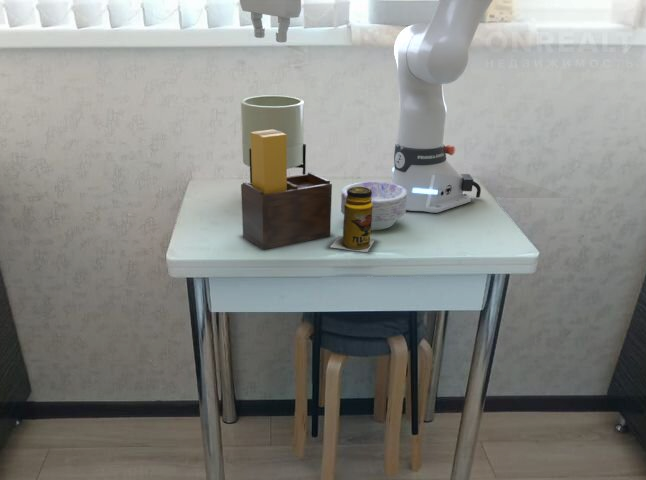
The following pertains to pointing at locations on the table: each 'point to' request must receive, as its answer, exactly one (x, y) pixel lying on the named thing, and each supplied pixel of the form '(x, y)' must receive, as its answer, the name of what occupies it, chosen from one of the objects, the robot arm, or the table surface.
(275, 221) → the rack
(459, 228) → the table surface
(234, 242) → the table surface
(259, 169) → the package
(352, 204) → the condiment
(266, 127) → the planter
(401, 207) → the paper bowls
